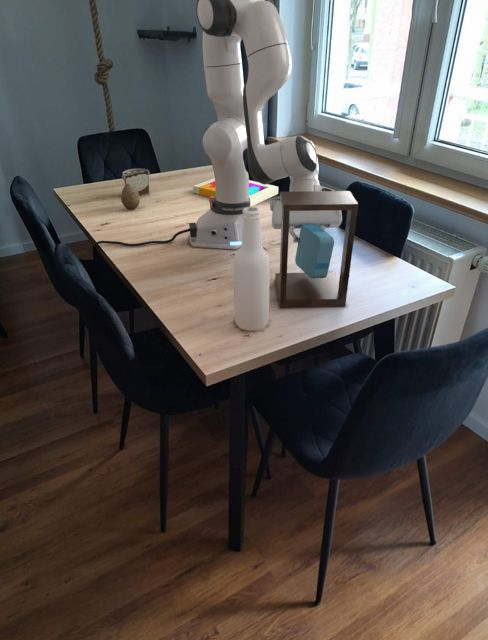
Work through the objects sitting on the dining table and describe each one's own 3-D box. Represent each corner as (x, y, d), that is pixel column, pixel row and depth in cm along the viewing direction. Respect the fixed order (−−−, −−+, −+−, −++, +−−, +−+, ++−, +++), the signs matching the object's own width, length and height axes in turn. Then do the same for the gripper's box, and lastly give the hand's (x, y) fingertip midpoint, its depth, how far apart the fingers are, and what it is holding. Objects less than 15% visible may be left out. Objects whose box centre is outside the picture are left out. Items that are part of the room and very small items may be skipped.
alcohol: (230, 329, 123) (227, 214, 105) (239, 312, 130) (237, 201, 112) (264, 333, 121) (266, 217, 104) (271, 315, 128) (274, 204, 111)
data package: (326, 279, 135) (335, 238, 129) (312, 280, 133) (320, 239, 127) (307, 262, 144) (315, 223, 138) (294, 262, 143) (301, 223, 136)
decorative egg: (118, 210, 192) (114, 184, 186) (132, 205, 197) (128, 180, 191) (131, 213, 189) (127, 187, 183) (144, 208, 193) (141, 183, 188)
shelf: (279, 308, 132) (283, 204, 115) (275, 280, 145) (277, 184, 128) (345, 306, 133) (358, 204, 116) (334, 279, 146) (345, 183, 129)
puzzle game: (224, 181, 224) (179, 198, 204) (223, 174, 222) (179, 191, 202) (278, 193, 210) (236, 213, 190) (278, 186, 208) (236, 205, 188)
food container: (144, 189, 212) (141, 166, 207) (152, 193, 209) (149, 169, 203) (119, 195, 206) (115, 171, 200) (127, 199, 202) (123, 175, 196)
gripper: (270, 191, 137) (272, 238, 135) (341, 190, 138) (344, 236, 136) (268, 202, 143) (270, 246, 141) (337, 200, 144) (340, 245, 142)
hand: (307, 241), depth 138 cm, fingers closed on data package, 5 cm apart
